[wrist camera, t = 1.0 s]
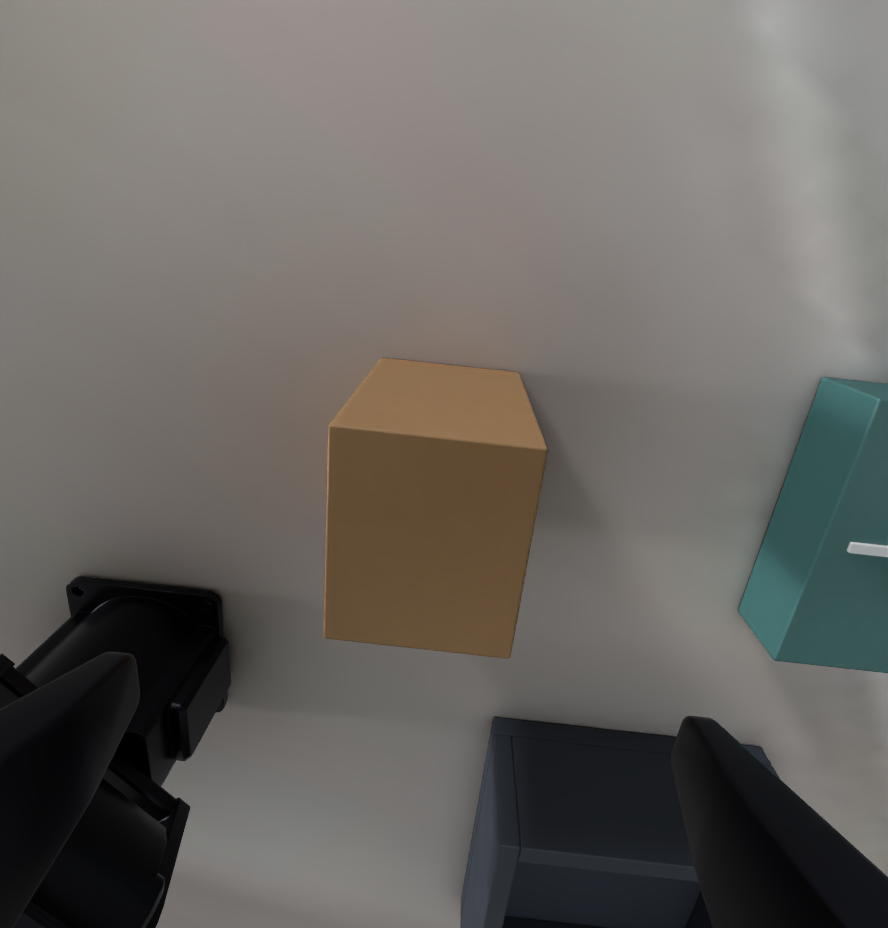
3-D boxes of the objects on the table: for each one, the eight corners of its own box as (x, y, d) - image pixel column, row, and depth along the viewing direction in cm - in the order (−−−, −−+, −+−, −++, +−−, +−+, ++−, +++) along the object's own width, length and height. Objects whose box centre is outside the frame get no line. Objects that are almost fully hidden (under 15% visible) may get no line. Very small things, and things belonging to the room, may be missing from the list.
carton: (372, 506, 22) (323, 638, 15) (381, 357, 20) (327, 424, 12) (496, 520, 22) (510, 659, 15) (519, 372, 20) (549, 448, 12)
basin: (460, 899, 31) (458, 1043, 25) (493, 716, 26) (499, 845, 20) (685, 925, 31) (732, 1075, 25) (761, 746, 26) (842, 884, 20)
